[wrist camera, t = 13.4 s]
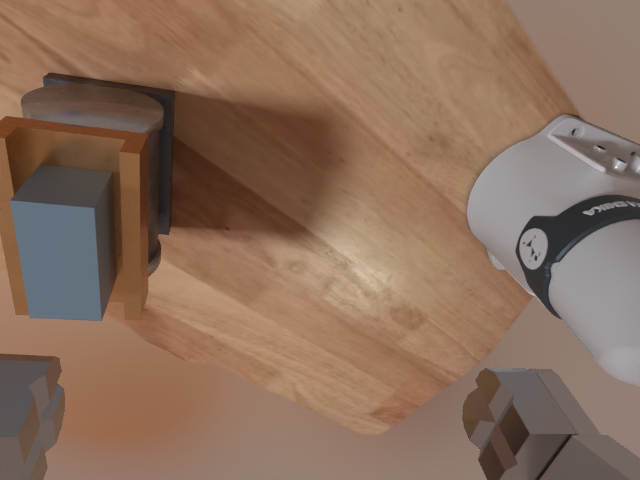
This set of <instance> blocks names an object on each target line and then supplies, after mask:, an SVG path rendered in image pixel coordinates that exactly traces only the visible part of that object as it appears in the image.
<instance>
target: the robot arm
mask: <svg viewBox="0 0 640 480" xmlns="http://www.w3.org/2000/svg"><path fill="white" fill-rule="evenodd" d="M575 128H576V129H575ZM574 129H575V131H574V132H573V133H572V131H573V130H574ZM571 133H572V134H571ZM467 218H468V223H469V226H470V229H471V231H472V233H473V234H474V236H475V237H476V238H477V239H478V240H479V241H480V242H481V243H482V244H483V245H484V246H485V247H486V249H487V252H488V256H489V259H490V262H491V263H492V264H493V265H494V266H495V267H496V268H497V269H499V270H507V271H508V272H509V273H510V274H511V275H512V276H513V278H514V279H515V280H516V281H517V282H518V283H519V284H520V285H521V286H522V287H523V288H524V289H525V290H526V291H527V292H529V293H530V294H531V295H534V296H536V298H537V299H538V300H539V301H540V303H541V304H542V305H543V306H544V307H545V308H547V309H548V310H549V311H550V312H551V313H552V314H553V315H554V316H556V317H558V318H559V319H562V320H563V321H564V322H565V324H566V325H567V326H568V327H569V328H570V330H571V331H572V332H573V334H574V335H575V336H576V337H577V338H578V340H579V341H580V342H581V343H582V345H583V346H584V347H585V348H586V349H587V351H588V352H589V353H590V354H591V356H592V357H593V358H594V359H595V360H596V362H597V363H598V364H599V365H600V367H601V368H602V369H603V370H604V371H605V372H606V373H608V374H609V375H611V376H612V377H614V378H616V379H618V380H620V381H622V382H625V383H628V384H631V385H634V386H638V387H640V144H637V143H635V142H633V141H630V140H628V139H626V138H623V137H621V136H619V135H616V134H614V133H612V132H609V131H607V130H605V129H603V128H600V127H598V126H595V125H593V124H591V123H589V122H586V121H584V120H582V119H579V118H577V117H575V116H572V115H569V114H564V115H561V116H559V117H558V118H556V119H555V120H553V121H552V122H551V123H550V124H549V125H547V126H546V127H545V128H544V129H543V130H542V131H541V132H540V133H538V134H536V135H535V136H533V137H531V138H528V139H526V140H524V141H521V142H519V143H517V144H515V145H513V146H512V147H510V148H508V149H507V150H505V151H504V152H502V153H501V154H500V155H498V156H497V157H496V158H495V159H494V160H493V161H492V162H491V163H490V164H489V165H488V166H487V167H486V168H485V169H484V171H483V172H482V173H481V175H480V176H479V178H478V179H477V181H476V183H475V184H474V186H473V189H472V191H471V194H470V197H469V201H468V207H467ZM61 372H62V370H61V365H60V359H59V358H58V357H55V356H36V355H17V354H0V480H43V479H44V476H45V473H46V470H47V463H46V456H45V452H46V451H48V450H49V449H50V448H51V447H52V446H54V445H55V444H56V442H57V439H58V436H59V433H60V430H61V426H62V421H63V416H64V411H65V394H64V388H63V387H61V386H60V385H59V384H58V383H57V382H58V379H59V377H60V374H61ZM476 383H477V385H478V388H477V389H475V390H474V391H472V392H471V393H470V394H468V396H467V398H466V400H465V402H464V405H463V417H462V419H463V424H464V428H465V431H466V433H467V435H468V438H469V440H470V441H471V442H472V443H473V444H475V445H476V446H477V447H478V448H479V449H480V454H479V459H478V461H479V463H480V465H481V467H482V469H483V471H484V474H485V476H486V478H487V480H640V458H639V457H638V456H636V455H635V454H633V453H632V452H631V451H629V450H628V449H626V448H625V447H624V446H622V445H621V444H619V443H618V442H617V441H615V440H614V439H612V438H611V437H609V436H608V435H601V434H600V433H599V431H598V430H597V428H596V427H595V426H594V424H593V423H592V421H591V420H590V419H589V417H588V416H587V414H586V413H585V412H584V410H583V409H582V407H581V406H580V405H579V403H578V402H577V400H576V399H575V398H574V396H573V395H572V394H571V392H570V391H569V389H568V388H567V386H566V385H565V384H564V383H563V381H562V379H561V378H560V377H559V376H558V374H557V373H555V372H554V371H553V370H551V369H523V368H522V369H521V368H485V369H484V370H482V371H481V372H480V373H479V375H478V377H477V378H476Z"/></svg>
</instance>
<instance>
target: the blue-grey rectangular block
mask: <svg viewBox="0 0 640 480" xmlns="http://www.w3.org/2000/svg"><path fill="white" fill-rule="evenodd" d="M10 204H11V210H12V216H13V222H14V228H15V234H16V240H17V245H18V251H19V257H20V263H21V269H22V275H23V281H24V287H25V293H26V298H27V304H28V310H29V316H30V318H44V319H66V320H90V321H102V318H103V316H104V313H105V310H106V307H107V304H108V301H109V298H110V296H111V293H112V290H113V287H114V284H115V281H116V278H117V265H116V241H115V217H114V192H113V172H108V171H99V170H89V169H80V168H71V167H61V166H52V165H43V164H40V165H39V166H38V167H37V168H36V170H35V171H34V172H33V173H32V174H31V176H30V177H29V178H28V179H27V180H26V182H25V183H24V184H23V185H22V186H21V188H20V189H19V190H18V191H17V192H16V194H15V195H14V196H13V197H12V198H11V200H10Z"/></svg>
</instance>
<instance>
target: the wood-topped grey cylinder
mask: <svg viewBox="0 0 640 480" xmlns="http://www.w3.org/2000/svg"><path fill="white" fill-rule="evenodd" d="M43 82H44V87H42V88H38V89H35V90H32V91H30V92H28V93H27V94H25V95H24V96H23V97H22V99H21V107H22V114H23V118H18V117H10V116H5V117H4V118H3V119H2V120H1V121H0V233H1V239H2V244H3V249H4V254H5V260H6V265H7V270H8V276H9V281H10V286H11V291H12V297H13V302H14V307H15V313H16V315H29V310H28V304H27V298H26V293H25V287H24V281H23V275H22V269H21V263H20V257H19V251H18V245H17V240H16V234H15V228H14V222H13V216H12V210H11V204H10V200H11V198H12V197H13V196H14V195H15V194H16V192H17V191H18V190H19V189H20V188H21V186H22V185H23V184H24V183H25V182H26V180H27V179H28V178H29V177H30V176H31V174H32V173H33V172H34V171H35V170H36V168H37V167H38V166H39V165H40V164H43V165H52V166H61V167H71V168H80V169H89V170H99V171H108V172H113V192H114V217H115V241H116V265H117V278H116V281H115V284H114V287H113V290H112V293H111V296H110V298H109V301H108V302H124V311H125V320H141V319H142V315H143V311H144V307H145V303H146V299H147V295H148V277H149V276H150V275H151V274H152V273H154V271H155V270H156V269H157V268H158V266H159V264H160V261H161V244H160V241H159V239H158V234H165V235H169V232H170V227H171V197H172V163H173V130H174V96H175V91H171V90H164V89H157V88H151V87H144V86H137V85H130V84H123V83H116V82H109V81H102V80H95V79H89V78H82V77H75V76H68V75H61V74H54V73H48V74H47V75H46V76H44V77H43Z"/></svg>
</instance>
